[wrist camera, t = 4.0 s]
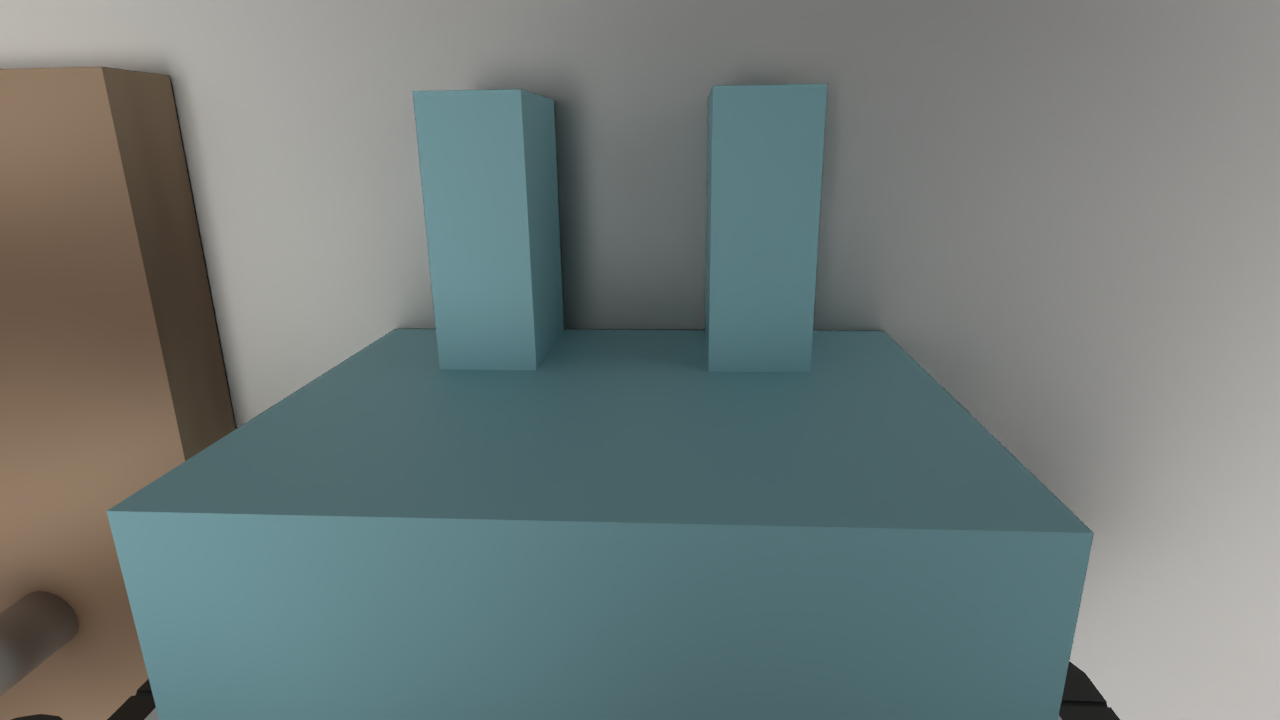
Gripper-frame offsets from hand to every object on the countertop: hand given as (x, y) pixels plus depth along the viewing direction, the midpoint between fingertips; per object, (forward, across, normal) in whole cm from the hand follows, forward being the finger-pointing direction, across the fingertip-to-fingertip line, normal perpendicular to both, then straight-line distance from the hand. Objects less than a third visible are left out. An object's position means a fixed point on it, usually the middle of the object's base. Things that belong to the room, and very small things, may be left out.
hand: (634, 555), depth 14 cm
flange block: (0, 0, 0) cm, 0 cm away
